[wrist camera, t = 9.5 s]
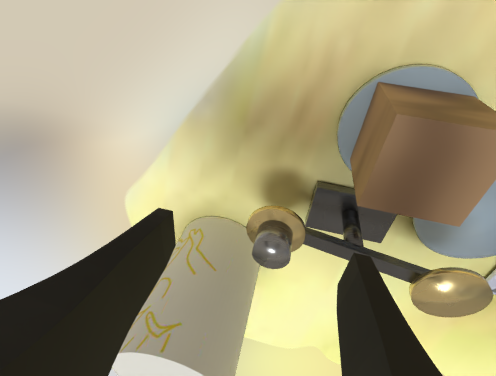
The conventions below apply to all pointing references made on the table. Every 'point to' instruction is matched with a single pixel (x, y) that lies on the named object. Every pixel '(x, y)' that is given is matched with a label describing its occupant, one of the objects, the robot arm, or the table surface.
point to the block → (424, 153)
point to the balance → (361, 249)
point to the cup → (195, 306)
